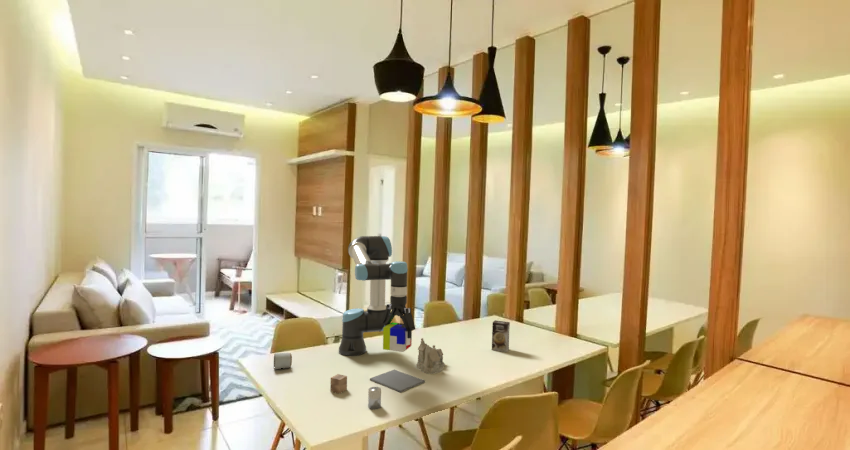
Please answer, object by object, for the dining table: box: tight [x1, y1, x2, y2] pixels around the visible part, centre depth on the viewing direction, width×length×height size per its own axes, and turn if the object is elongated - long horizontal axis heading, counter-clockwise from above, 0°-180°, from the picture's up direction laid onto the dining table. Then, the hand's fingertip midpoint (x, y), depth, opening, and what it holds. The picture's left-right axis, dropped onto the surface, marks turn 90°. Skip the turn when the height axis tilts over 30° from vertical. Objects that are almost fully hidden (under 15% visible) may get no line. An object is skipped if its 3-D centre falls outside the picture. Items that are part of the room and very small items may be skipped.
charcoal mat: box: [369, 369, 426, 393], centre depth 195 cm, size 20×16×1 cm
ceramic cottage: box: [415, 337, 445, 375], centre depth 215 cm, size 16×16×15 cm
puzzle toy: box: [382, 321, 413, 353], centre depth 195 cm, size 10×10×10 cm
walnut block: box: [330, 373, 348, 394], centre depth 184 cm, size 5×5×6 cm
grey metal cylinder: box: [367, 386, 382, 411], centre depth 169 cm, size 5×5×7 cm
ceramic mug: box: [273, 352, 293, 370], centre depth 211 cm, size 11×8×8 cm
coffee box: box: [491, 320, 511, 353], centre depth 245 cm, size 9×6×16 cm
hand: (397, 342), depth 195 cm, fingers closed on puzzle toy, 12 cm apart
